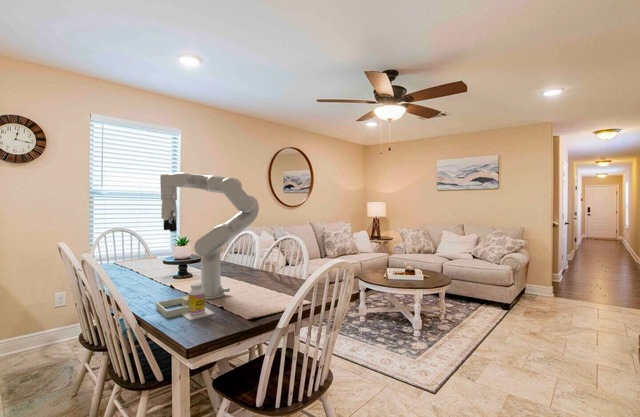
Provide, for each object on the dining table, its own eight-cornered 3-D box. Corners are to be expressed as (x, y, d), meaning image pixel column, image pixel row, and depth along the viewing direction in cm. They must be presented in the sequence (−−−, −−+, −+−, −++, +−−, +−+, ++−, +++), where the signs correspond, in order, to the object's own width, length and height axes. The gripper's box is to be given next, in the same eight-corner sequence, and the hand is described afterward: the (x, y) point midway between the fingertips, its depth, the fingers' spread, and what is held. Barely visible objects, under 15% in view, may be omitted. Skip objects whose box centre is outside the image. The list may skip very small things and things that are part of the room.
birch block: (191, 305, 161) (191, 295, 161) (195, 307, 158) (195, 297, 158) (182, 307, 158) (182, 297, 158) (185, 309, 155) (185, 299, 155)
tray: (190, 301, 166) (190, 295, 166) (203, 309, 154) (203, 302, 154) (156, 308, 156) (155, 302, 156) (167, 318, 144) (166, 311, 144)
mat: (204, 307, 156) (204, 306, 156) (214, 314, 148) (214, 313, 148) (180, 313, 149) (180, 312, 149) (189, 320, 141) (189, 319, 141)
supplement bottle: (195, 316, 144) (194, 286, 143) (185, 313, 148) (185, 284, 147) (208, 311, 150) (207, 283, 149) (198, 309, 153) (197, 281, 153)
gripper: (156, 197, 176) (157, 230, 177) (166, 197, 163) (167, 232, 164) (171, 197, 181) (172, 228, 182) (182, 197, 168) (183, 231, 169)
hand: (170, 230), depth 173 cm, fingers open, 9 cm apart
